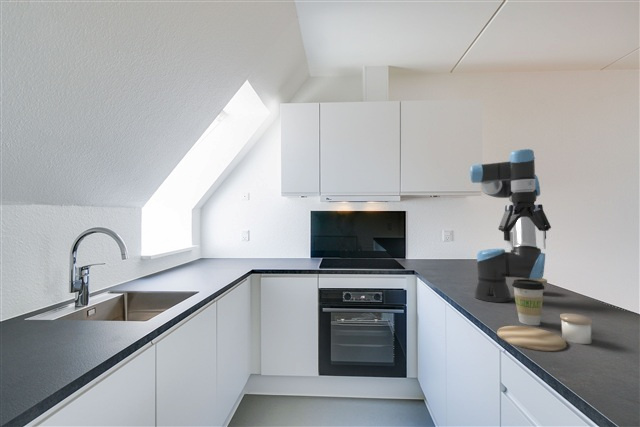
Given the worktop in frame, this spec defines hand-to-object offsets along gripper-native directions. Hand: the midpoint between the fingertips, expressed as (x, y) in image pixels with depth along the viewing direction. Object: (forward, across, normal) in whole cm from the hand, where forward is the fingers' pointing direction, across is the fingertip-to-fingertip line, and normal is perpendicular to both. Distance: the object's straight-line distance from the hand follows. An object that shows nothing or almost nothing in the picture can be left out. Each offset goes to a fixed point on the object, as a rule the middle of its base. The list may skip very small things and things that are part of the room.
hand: (525, 249), depth 109 cm
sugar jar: (+27, +1, -16) cm, 31 cm away
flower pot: (+27, +37, +33) cm, 57 cm away
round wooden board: (+27, -12, -12) cm, 32 cm away
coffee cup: (+27, 0, 0) cm, 27 cm away
